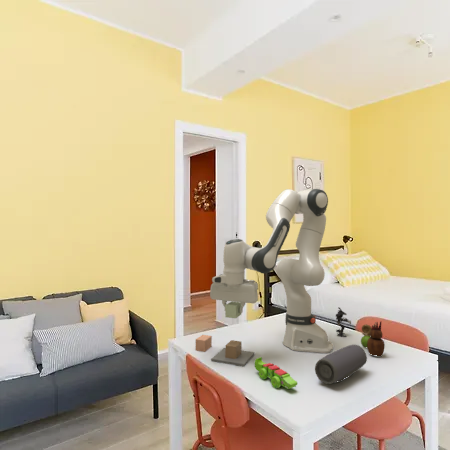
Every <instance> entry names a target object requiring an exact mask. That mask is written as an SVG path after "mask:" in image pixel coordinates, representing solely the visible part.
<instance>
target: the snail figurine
mask: <svg viewBox="0 0 450 450" xmlns="http://www.w3.org/2000/svg"><path fill="white" fill-rule="evenodd" d="M376 323H377V321H376V322H374V324H375V327H376ZM374 324H373V327H374ZM371 329H372V326H370V324H363V325H362V326H361V334H362V335H363V336H362V337H361V339H360V343H361V345H362V346H363V348H366V347H367V341H368V339H369V338H370V337H371V336H370V330H371Z"/></svg>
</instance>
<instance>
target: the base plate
mask: <svg viewBox="0 0 450 450" xmlns="http://www.w3.org/2000/svg"><path fill="white" fill-rule="evenodd" d="M255 355H256V353H255V351H250V350H245V349H244V350H243V349H242V341H241V340H235V339H233V340H230V341H229V342H227V344H226V345H224V347H222V349H221V350H220V351H219V352H217V353H216V354H215V355H214V356H212V358H211V359H210V360H211V361H210V362H213V363H219V364H226V365H232V366H237V367H242V368H243V367H244V368H245V366H246V365H247V364H248V363H249V362H250V361H251V360H252V358H253V357H254V356H255Z"/></svg>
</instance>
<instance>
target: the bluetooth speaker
mask: <svg viewBox="0 0 450 450" xmlns="http://www.w3.org/2000/svg"><path fill="white" fill-rule="evenodd" d="M367 360H368V357H367V353H366V351H365V350H364V347H362V346H360V345H359V344H350V345H347V346H344V347H342V348H339V349H337V350H335V351H331V352H329V353H328V354H327V355H325V356H323V357H321V358H320V359H319V360H318V361H317V362H316V363H315V367H314V371H315V374H316V377H317V378H318V380H319V381H320V382H322V383H324V384H328V385H330V384H331V385H332V384H334V383H338V382H337V381H341V380H343V379H344V378H346V377H348V376H349V377H351V376H350V375H353V374H354V373H355V372H357V371H358V370H360V369H361V368H362V367H364V366H365V364H366V363H367V362H368V361H367ZM349 377H348V378H349ZM346 379H347V378H346ZM343 381H344V380H343ZM341 382H342V381H341Z"/></svg>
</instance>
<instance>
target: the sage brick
mask: <svg viewBox="0 0 450 450" xmlns="http://www.w3.org/2000/svg"><path fill="white" fill-rule="evenodd" d="M241 306H242V305H241V302H234V301H229V302H228V303H226V305H225V307H224V312H225V313H224V314H225V316H224V317H225V318H230V319H237V318H238V317H240V316H242V313H238V308H241Z"/></svg>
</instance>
